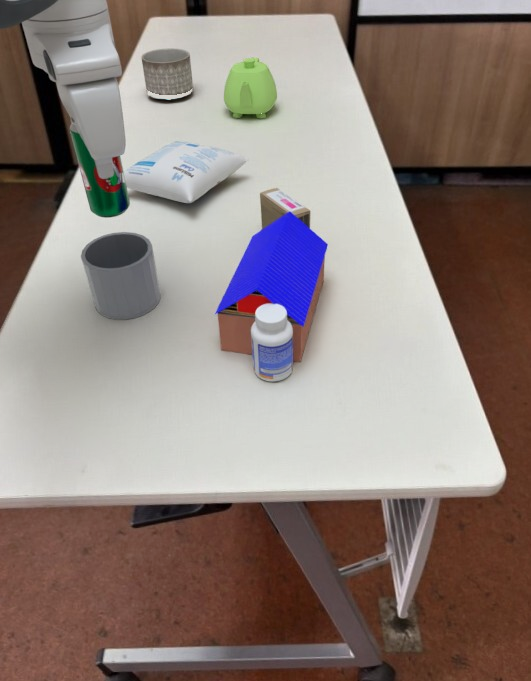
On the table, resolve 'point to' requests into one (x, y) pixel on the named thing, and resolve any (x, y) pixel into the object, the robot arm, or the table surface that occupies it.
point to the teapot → (250, 89)
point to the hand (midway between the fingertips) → (100, 165)
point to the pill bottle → (272, 343)
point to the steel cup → (122, 275)
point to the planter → (167, 71)
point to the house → (274, 283)
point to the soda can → (101, 181)
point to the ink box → (281, 207)
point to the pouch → (182, 171)
